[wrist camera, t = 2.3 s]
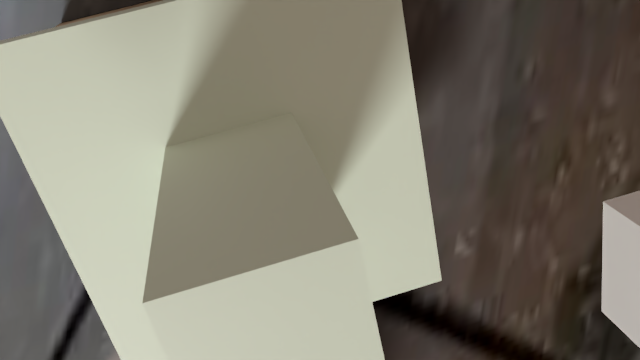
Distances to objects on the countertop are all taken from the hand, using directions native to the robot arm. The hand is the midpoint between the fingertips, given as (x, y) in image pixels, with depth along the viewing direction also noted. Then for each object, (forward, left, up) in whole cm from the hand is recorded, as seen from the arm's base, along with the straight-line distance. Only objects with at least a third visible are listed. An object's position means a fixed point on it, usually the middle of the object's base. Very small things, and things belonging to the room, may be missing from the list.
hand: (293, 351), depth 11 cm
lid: (0, 0, -11) cm, 11 cm away
